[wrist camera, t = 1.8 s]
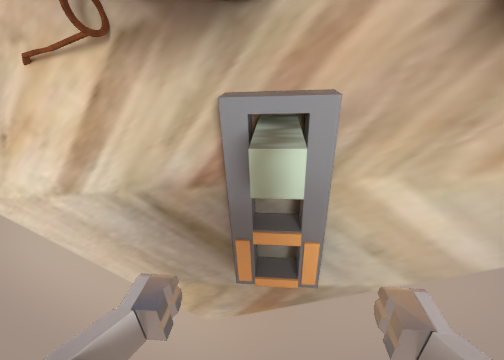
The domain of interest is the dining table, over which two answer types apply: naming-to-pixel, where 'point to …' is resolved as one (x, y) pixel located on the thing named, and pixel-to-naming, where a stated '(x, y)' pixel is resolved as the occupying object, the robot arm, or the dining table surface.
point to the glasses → (84, 33)
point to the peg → (277, 158)
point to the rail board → (311, 207)
